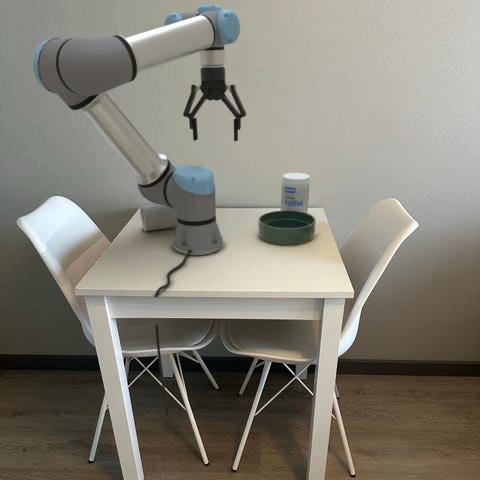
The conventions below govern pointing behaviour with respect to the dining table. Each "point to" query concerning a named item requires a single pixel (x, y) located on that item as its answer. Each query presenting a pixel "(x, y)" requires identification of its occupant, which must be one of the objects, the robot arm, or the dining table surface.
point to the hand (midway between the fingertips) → (215, 140)
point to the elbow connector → (158, 217)
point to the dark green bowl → (286, 227)
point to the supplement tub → (295, 192)
